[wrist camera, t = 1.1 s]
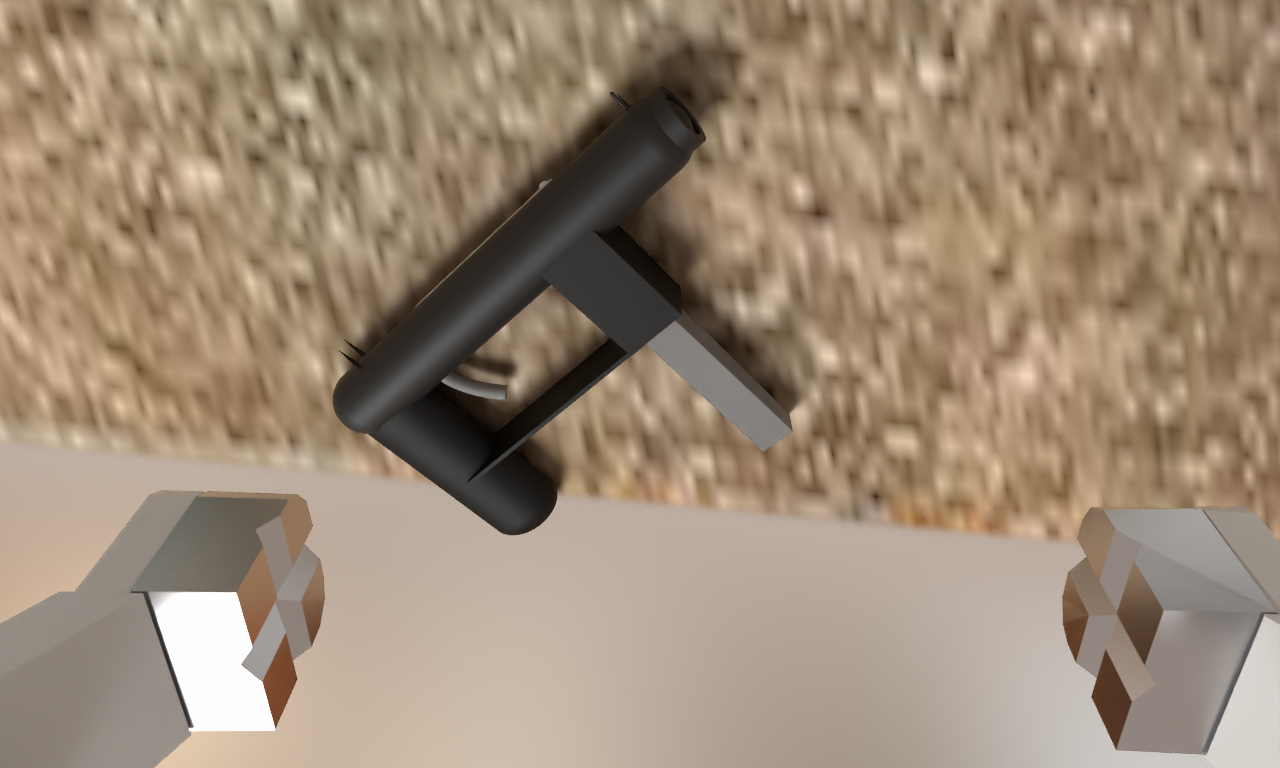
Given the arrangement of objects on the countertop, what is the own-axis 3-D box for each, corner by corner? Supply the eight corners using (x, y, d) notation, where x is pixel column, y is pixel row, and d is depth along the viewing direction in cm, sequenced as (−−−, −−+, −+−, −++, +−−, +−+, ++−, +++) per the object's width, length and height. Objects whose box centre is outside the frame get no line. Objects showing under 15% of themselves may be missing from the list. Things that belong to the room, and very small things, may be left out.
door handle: (908, 362, 41) (635, 72, 34) (564, 603, 48) (289, 402, 42) (891, 321, 43) (636, 45, 37) (569, 555, 51) (311, 360, 45)
